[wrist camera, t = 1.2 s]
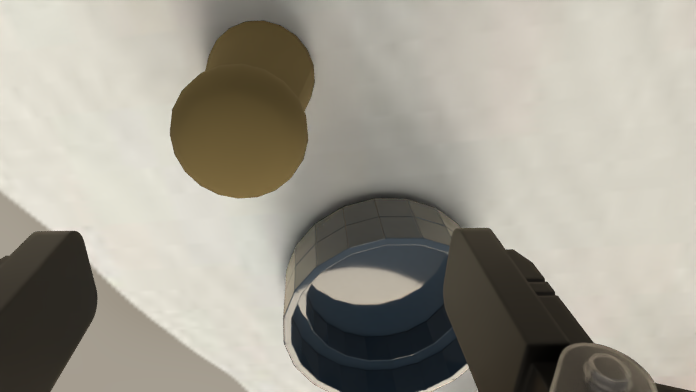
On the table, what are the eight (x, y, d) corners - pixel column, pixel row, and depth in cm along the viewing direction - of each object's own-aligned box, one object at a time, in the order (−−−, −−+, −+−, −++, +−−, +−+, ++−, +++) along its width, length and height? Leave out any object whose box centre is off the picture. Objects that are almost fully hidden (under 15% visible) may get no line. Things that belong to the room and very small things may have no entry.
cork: (208, 123, 27) (153, 217, 17) (205, 14, 24) (138, 54, 15) (310, 131, 28) (313, 226, 18) (319, 26, 25) (327, 72, 15)
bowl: (285, 191, 30) (281, 238, 25) (486, 193, 31) (520, 238, 26) (287, 344, 36) (284, 405, 31) (454, 340, 37) (476, 398, 32)
